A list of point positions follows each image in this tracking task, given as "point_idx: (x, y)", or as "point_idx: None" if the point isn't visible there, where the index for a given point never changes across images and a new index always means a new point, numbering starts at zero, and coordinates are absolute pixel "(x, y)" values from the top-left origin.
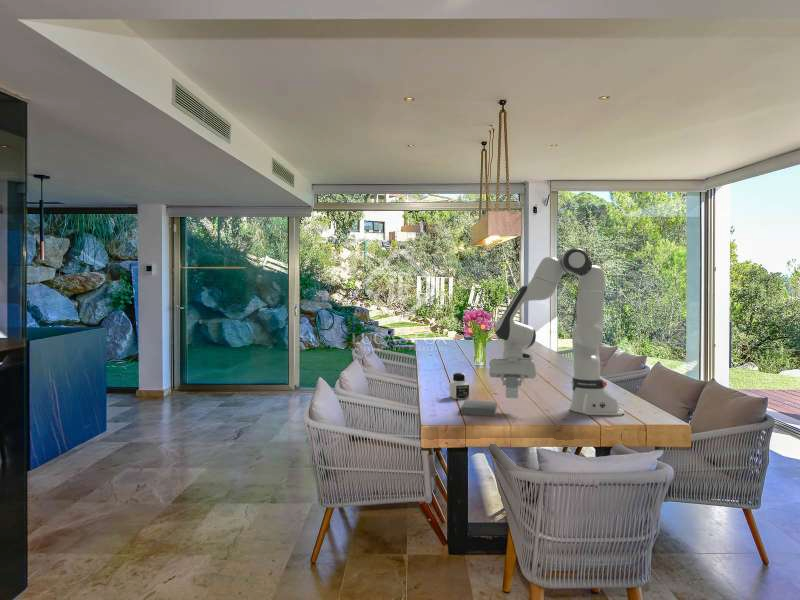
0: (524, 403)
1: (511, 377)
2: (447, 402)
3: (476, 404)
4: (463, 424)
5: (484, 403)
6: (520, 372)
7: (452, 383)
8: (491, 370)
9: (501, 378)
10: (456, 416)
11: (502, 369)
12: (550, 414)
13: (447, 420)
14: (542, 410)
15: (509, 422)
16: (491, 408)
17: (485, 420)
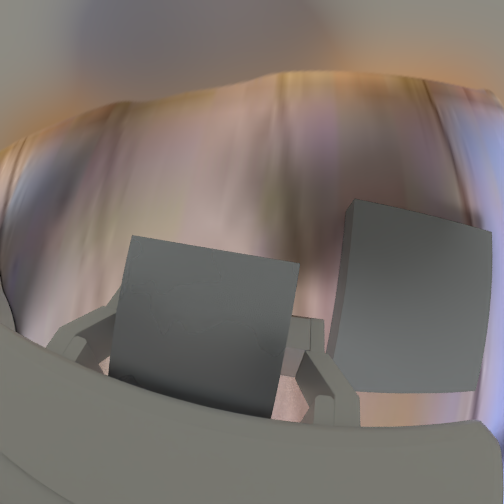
0: None
1: (213, 250)
2: None
3: (441, 303)
4: (435, 99)
5: (402, 338)
6: (53, 368)
7: None
8: (486, 452)
9: (341, 380)
10: (480, 201)
11: (340, 495)
12: (81, 272)
13: (487, 148)
14: None
15: (281, 116)
16: (369, 211)
17: (378, 140)
